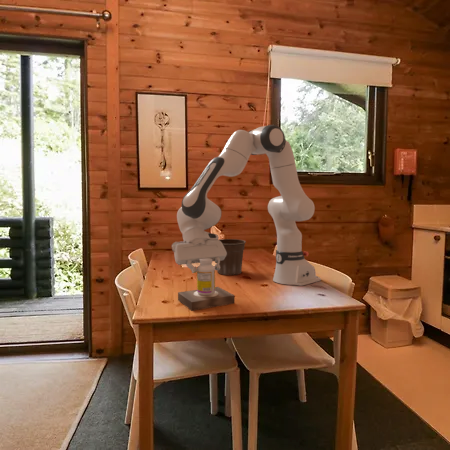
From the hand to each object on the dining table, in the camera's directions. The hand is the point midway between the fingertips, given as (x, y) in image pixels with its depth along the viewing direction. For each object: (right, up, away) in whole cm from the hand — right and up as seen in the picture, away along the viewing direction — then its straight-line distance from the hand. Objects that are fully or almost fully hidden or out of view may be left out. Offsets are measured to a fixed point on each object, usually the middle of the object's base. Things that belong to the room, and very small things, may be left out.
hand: (206, 270), depth 127 cm
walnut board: (0, -12, +2) cm, 12 cm away
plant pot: (+9, -8, +48) cm, 50 cm away
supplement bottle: (0, -9, +1) cm, 9 cm away
